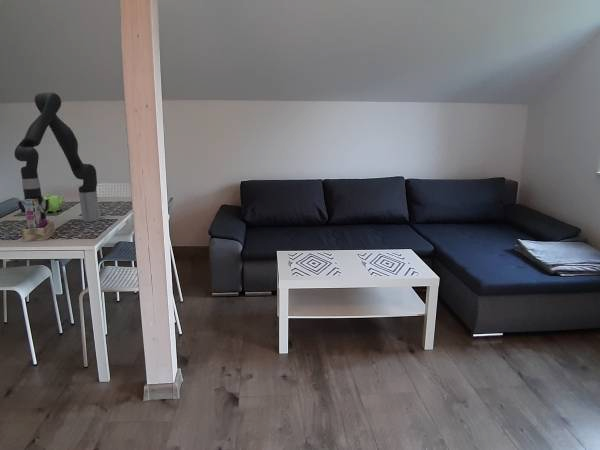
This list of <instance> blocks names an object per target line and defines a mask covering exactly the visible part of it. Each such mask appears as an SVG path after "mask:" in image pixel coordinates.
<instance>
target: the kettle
mask: <svg viewBox="0 0 600 450" xmlns="http://www.w3.org/2000/svg"><path fill="white" fill-rule="evenodd" d="M65 197H67V195H61V196H60V197H59V195H51V194H45V196H43V198H44V199H49V210H48V211H46V212H45V213H46V214H48V212H52V213H53V212H54V214H55V212H56V213H58V211H60V209H61V205H62V204H63V202H64V198H65ZM59 198H60V199H59ZM44 205H45V203H44ZM57 210H58V211H57Z"/></svg>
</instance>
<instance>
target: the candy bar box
mask: <svg viewBox="0 0 600 450" xmlns="http://www.w3.org/2000/svg"><path fill="white" fill-rule="evenodd" d="M42 198H43V196H42ZM24 199H25V198H24ZM24 199H23V201H24V204H23V205H24V208H25V213H24V214H25V219H26V225H27V228H28V229H35V228H44V227H45V226H46V225H47V221H48V220H47V217H46V218H45V219H44V220H42V215H41V213H42V212H41V211H40V209H39V206H38V203H39V202H38V198H30V199H25V200H24ZM43 199H44V198H43ZM41 205H42V206H43V208H44V209H45V205H44V201H43V202H42V203H41ZM41 205H40V206H41ZM46 214H47V213H45V215H46ZM46 216H47V215H46Z"/></svg>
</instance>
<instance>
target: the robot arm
mask: <svg viewBox="0 0 600 450" xmlns="http://www.w3.org/2000/svg"><path fill="white" fill-rule="evenodd" d="M34 103H35V107H36V108H37V110H38V111H39V113H40V114H39V115H38V117H37V118H36V119H35V120H34V121H33V122H31V124H30V126H29V127H28V129H27V131H26V133H25V136H24V137H23V138H22V139H21V141H20V142H19V144H17V146H16V147H15V149H14V158H15V159H16V160H17V161H18V162H25V163H26V164H25V166H22V167H21V168H20V174H21V183H22V185H21V186H22V191H23V197H24V199H23V200H25V199H30V198H38V202H39V203H38V206H39V209H40V211H41V212H42V213H41V215H42V220H44V219H45V218H46V219H47V215H45V212H46V211H48V210H49V199H43V198H42V190H41V183H40V180H39V175H38V174H39V173H38V167H39V159H40V158H39V157H40V156H39V152H38V151H37V149H36V147H38V146H40V144H41V142H42V139H43V137H44V135H45V132H46V131H47V128H48V127H49V129H50V130H51V132H52V134H53V135H54V137H55V139H56V141H57V143H58V145H59V146H60V148H61V151H62V153H64V156H65V159H66V160H67V162H68V164H69V167H70V170H71V172H72V174H73V176H74V177H75V178H76V179H78V180H82V184H81V186H79V187H78V194H79V195H78V196H79V202H80V210H81V217H82V218H81V219H82V222H86V223H91V222H92V223H93V222H98V221H100V220H101V210H100V203H99V202H98V201H99V200H98V195H97V194H98V193H97V187H98V178H97V170H96V167H95V166H94V165H93V164H91V163H83V161H82V160H81V158H80V156H79V149H78V148H79V143H78V140H77V137H76V135H75V134H74V132H73V130H72V129H71V127H70V126H68V125H67V124H66V123H65V122H64V121H63V120H61V118H60V117H59V116H58V115H57V113H58V112H59V110H60V108H61V106H62V99H61V97H60V95H59V94H58V93H55V92H42V93H41V92H39V93H36V95H35V96H34ZM23 200H18V201H17V204H18V206H19V209H20V211H21V213H24V214H25V208H24V201H23ZM43 201H44V203H45V209H44V208H43V206H42V205H41V203H42V202H43ZM40 205H41V206H40ZM48 212H49V211H48Z"/></svg>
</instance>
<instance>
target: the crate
mask: <svg viewBox="0 0 600 450" xmlns="http://www.w3.org/2000/svg"><path fill="white" fill-rule="evenodd" d="M55 230H56V229H55V224H54V219H53V220H47V225H46V226H45V227H44V228H35V229H28V228H27V224H26V225H24V227H22V228H21V229H20V234H21V239H22V242H23V243H25V242H35V241H36V242H37V241H38V242H39V241H47V240H49V239H50V237H52V235H53V234H54V233H55Z"/></svg>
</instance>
